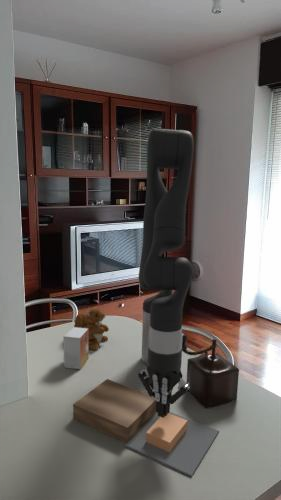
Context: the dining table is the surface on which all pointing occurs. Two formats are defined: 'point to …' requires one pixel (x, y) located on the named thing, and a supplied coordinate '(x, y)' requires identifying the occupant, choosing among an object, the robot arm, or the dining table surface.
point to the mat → (177, 446)
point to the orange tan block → (166, 432)
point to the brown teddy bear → (93, 326)
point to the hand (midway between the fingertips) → (162, 414)
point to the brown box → (115, 409)
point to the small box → (76, 348)
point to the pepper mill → (211, 376)
